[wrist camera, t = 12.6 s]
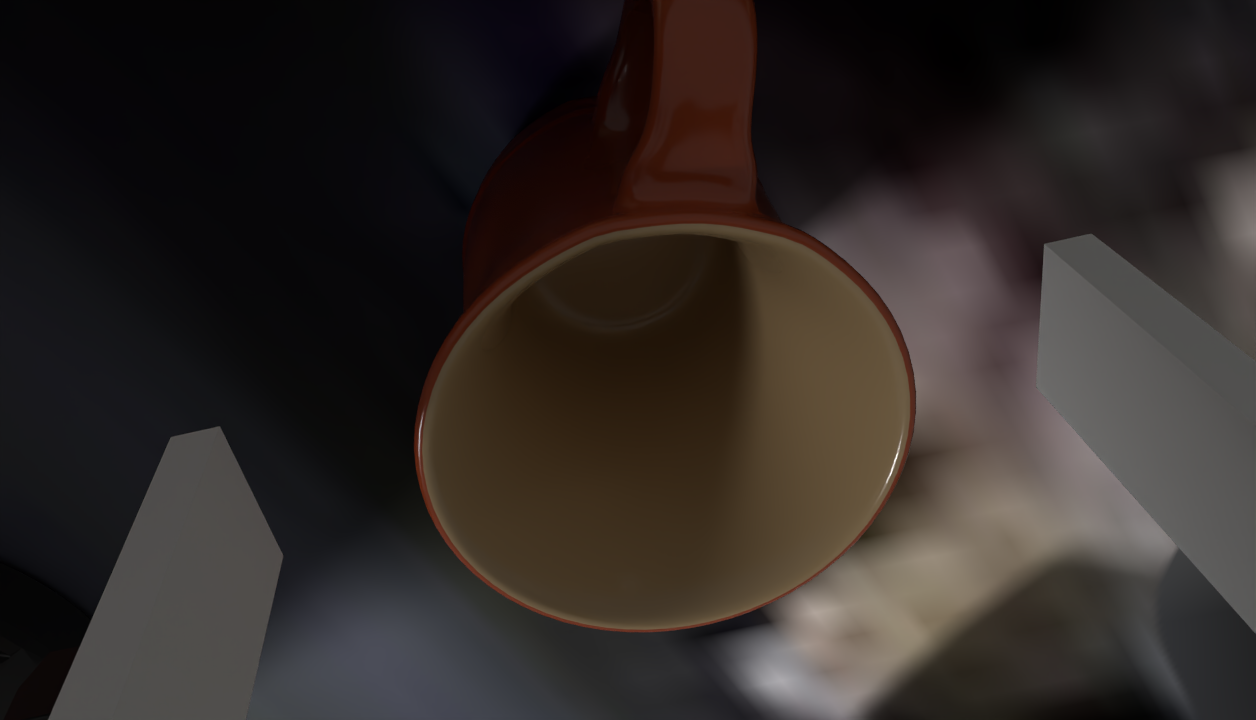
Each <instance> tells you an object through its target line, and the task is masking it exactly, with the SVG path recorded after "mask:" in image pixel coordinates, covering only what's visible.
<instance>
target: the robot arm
mask: <svg viewBox="0 0 1256 720" xmlns="http://www.w3.org/2000/svg"><path fill="white" fill-rule="evenodd" d="M1036 388H1037V389H1038V390H1039V391H1040V392H1041V393H1042V394H1043V395H1044V397H1045V398H1046V399H1047V400H1048V401H1049V402H1050V403H1051V404H1052V406H1053V407H1054V408H1055V409H1056V410H1057V411H1058V412H1059V413H1060V415H1061V416H1062V417H1063V418H1064V419H1065V420H1066V421H1067V422H1068V424H1069V425H1070V426H1071V427H1072V428H1073V429H1074V430H1075V431H1076V433H1077V434H1078V435H1079V436H1080V437H1081V438H1082V439H1083V440H1084V442H1085V443H1086V444H1087V445H1088V446H1089V447H1090V448H1091V449H1092V451H1093V452H1094V453H1095V454H1096V455H1097V456H1098V457H1099V458H1100V460H1101V461H1102V462H1103V463H1104V464H1105V465H1106V466H1107V467H1108V468H1109V470H1110V471H1111V472H1112V473H1113V474H1114V475H1115V476H1116V477H1117V479H1118V480H1119V481H1120V482H1121V483H1122V484H1123V485H1124V486H1125V488H1126V489H1127V490H1128V491H1129V492H1130V493H1131V494H1132V495H1133V497H1134V498H1135V499H1136V500H1137V501H1138V502H1139V503H1140V504H1141V506H1142V507H1143V508H1144V509H1145V510H1146V511H1147V512H1148V513H1149V515H1150V516H1151V517H1152V518H1153V519H1154V520H1155V521H1156V522H1157V524H1158V525H1159V526H1160V527H1161V528H1162V529H1163V530H1164V531H1165V533H1166V534H1167V535H1168V536H1169V537H1170V538H1171V539H1172V540H1173V542H1174V543H1175V544H1176V545H1177V546H1178V547H1179V548H1180V549H1181V551H1182V552H1183V553H1184V554H1185V555H1186V556H1187V557H1188V558H1189V560H1190V561H1191V562H1192V563H1193V564H1194V565H1195V566H1196V567H1197V568H1198V570H1199V571H1200V572H1201V573H1202V574H1203V575H1204V576H1205V577H1206V579H1207V580H1208V581H1209V582H1210V583H1211V584H1212V585H1213V586H1214V588H1215V589H1216V590H1217V591H1218V592H1219V593H1220V594H1221V595H1222V597H1223V598H1224V599H1225V600H1226V601H1227V602H1228V603H1229V604H1230V606H1231V607H1232V608H1233V609H1234V610H1235V611H1236V612H1237V613H1238V615H1239V616H1240V617H1241V618H1242V619H1243V620H1244V621H1245V622H1246V624H1247V625H1248V626H1249V627H1250V628H1251V629H1252V630H1253V631H1254V632H1255V634H1256V361H1255V360H1253V359H1252V358H1251V357H1250V356H1248V355H1247V354H1246V353H1244V352H1243V351H1242V350H1241V349H1239V348H1238V347H1237V346H1235V345H1234V344H1233V343H1232V342H1230V341H1229V340H1228V339H1226V338H1225V337H1224V336H1223V335H1221V334H1220V333H1219V332H1217V331H1216V330H1215V329H1214V328H1212V327H1211V326H1210V325H1208V324H1207V323H1206V322H1205V321H1203V320H1202V319H1201V318H1199V317H1198V316H1197V315H1196V314H1194V313H1193V312H1192V311H1190V310H1189V309H1188V308H1186V307H1185V306H1184V305H1183V304H1181V303H1180V302H1179V301H1177V300H1176V299H1175V298H1174V297H1172V296H1171V295H1170V294H1168V293H1167V292H1166V291H1165V290H1163V289H1162V288H1161V287H1159V286H1158V285H1157V284H1156V283H1154V282H1153V281H1152V280H1150V279H1149V278H1148V277H1147V276H1145V275H1144V274H1143V273H1141V272H1140V271H1139V270H1138V269H1136V268H1135V267H1134V266H1132V265H1131V264H1130V263H1129V262H1127V261H1126V260H1125V259H1123V258H1122V257H1121V256H1120V255H1118V254H1117V253H1116V252H1114V251H1113V250H1112V249H1111V248H1109V247H1108V246H1107V245H1105V244H1104V243H1103V242H1102V241H1100V240H1099V239H1098V238H1096V237H1095V236H1094V235H1093V234H1087V235H1083V236H1078V237H1074V238H1069V239H1065V240H1060V241H1056V242H1051V243H1047V244H1044V258H1043V275H1042V293H1041V310H1040V327H1039V345H1038V362H1037V379H1036ZM282 560H283V554H282V552H281V550H280V548H279V546H278V544H277V542H276V540H275V538H274V536H273V534H272V532H271V530H270V528H269V526H268V523H267V521H266V519H265V517H264V515H263V513H262V511H261V509H260V507H259V505H258V503H257V501H256V499H255V497H254V495H253V493H252V491H251V489H250V487H249V485H248V483H247V481H246V479H245V477H244V474H243V472H242V470H241V468H240V466H239V464H238V462H237V460H236V458H235V456H234V454H233V452H232V450H231V448H230V446H229V444H228V442H227V440H226V438H225V436H224V434H223V432H222V430H221V428H220V426H219V427H214V428H210V429H205V430H201V431H196V432H191V433H187V434H182V435H178V436H173V437H171V438H170V440H169V442H168V445H167V447H166V449H165V451H164V454H163V456H162V458H161V461H160V463H159V465H158V468H157V470H156V472H155V474H154V477H153V479H152V481H151V484H150V486H149V488H148V491H147V493H146V495H145V497H144V500H143V502H142V504H141V507H140V509H139V511H138V514H137V516H136V518H135V521H134V523H133V525H132V527H131V530H130V532H129V534H128V537H127V539H126V541H125V544H124V546H123V548H122V550H121V553H120V555H119V557H118V560H117V562H116V564H115V567H114V569H113V571H112V574H111V576H110V578H109V580H108V583H107V585H106V587H105V590H104V592H103V594H102V597H101V599H100V601H99V603H98V606H97V608H96V610H95V613H94V615H93V617H92V620H90V619H89V618H88V617H87V616H86V615H85V614H84V613H82V612H81V611H80V610H79V609H77V608H76V607H75V606H73V605H72V604H71V603H70V602H68V601H67V600H65V599H64V598H62V597H61V596H60V595H58V594H57V593H55V592H54V591H52V590H51V589H49V588H47V587H46V586H44V585H42V584H41V583H39V582H37V581H36V580H34V579H32V578H30V577H28V576H26V575H24V574H22V573H21V572H19V571H17V570H14V569H12V568H10V567H8V566H6V565H4V564H2V563H0V720H246V716H247V712H248V708H249V703H250V699H251V695H252V690H253V686H254V682H255V677H256V673H257V669H258V664H259V660H260V656H261V651H262V647H263V643H264V638H265V634H266V630H267V625H268V621H269V616H270V612H271V608H272V603H273V599H274V595H275V590H276V586H277V582H278V577H279V573H280V569H281V564H282Z"/></svg>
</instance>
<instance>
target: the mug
mask: <svg viewBox="0 0 1256 720" xmlns="http://www.w3.org/2000/svg"><path fill="white" fill-rule="evenodd" d="M756 69H757V21H756V11H755V6H754V0H625V2H624V6H623V11H622V16H621V21H620V26H619V31H618V36H617V40H616V44H615V47H614V49H613V52H612V55H611V58H610V60H609V63H608V65H607V68H606V70H605V73H604V75H603V78H602V81H601V84H600V87H599V91H598V95H597V96H592V97H584V98H579V99H575V100H571V101H568V102H566V103H564V104H561V105H560V106H558V107H556V108H554V109H552V110H550V111H549V112H547V113H545V114H544V115H542V116H541V117H539V118H538V119H536V120H535V121H533V122H532V123H531V124H529V125H528V126H527V127H526V128H524V129H523V130H522V131H521V132H520V133H519V134H518V135H517V136H515V137H514V138H513V139H512V140H511V141H510V143H509V144H508V145H507V146H506V147H505V149H504V150H503V151H502V152H501V154H500V155H499V156H498V157H497V159H496V160H495V162H494V163H493V164H492V166H491V167H490V169H489V170H488V172H487V174H486V176H485V178H484V179H483V181H482V183H481V185H480V188H479V190H478V193H477V195H476V197H475V199H474V202H473V204H472V207H471V209H470V212H469V215H468V219H467V222H466V226H465V232H464V238H463V250H462V259H463V273H464V281H463V304H464V312H463V313H462V315H461V316H460V318H459V319H458V320H457V322H456V323H455V325H454V326H453V328H452V329H451V330H450V332H449V333H448V335H447V336H446V338H445V340H444V341H443V343H442V345H441V347H440V348H439V350H438V352H437V354H436V356H435V357H434V360H433V362H432V364H431V367H430V369H429V372H428V374H427V376H426V379H425V382H424V385H423V389H422V392H421V396H420V399H419V403H418V408H417V414H416V420H415V430H414V454H415V467H416V472H417V476H418V481H419V486H420V490H421V493H422V496H423V499H424V502H425V505H426V508H427V510H428V512H429V514H430V516H431V518H432V520H433V523H434V525H435V527H436V528H437V530H438V531H439V533H440V535H441V536H442V538H443V539H444V541H445V542H446V544H447V545H448V546H449V548H450V549H451V550H452V551H453V553H454V554H455V555H456V556H457V558H458V559H459V560H460V561H461V562H462V563H463V564H464V565H465V566H466V567H467V568H468V569H469V570H470V571H471V572H472V573H473V574H475V575H476V576H477V577H478V578H479V579H481V580H482V581H483V582H484V583H485V584H487V585H488V586H489V587H491V588H492V589H494V590H495V591H497V592H498V593H500V594H501V595H503V596H504V597H506V598H508V599H510V600H512V601H514V602H515V603H517V604H519V605H521V606H523V607H525V608H527V609H530V610H532V611H534V612H537V613H539V614H541V615H544V616H547V617H550V618H553V619H556V620H559V621H562V622H566V623H570V624H574V625H578V626H582V627H588V628H594V629H600V630H608V631H619V632H660V631H672V630H680V629H688V628H693V627H698V626H703V625H708V624H712V623H716V622H720V621H723V620H727V619H731V618H734V617H737V616H739V615H742V614H745V613H748V612H751V611H753V610H756V609H758V608H760V607H763V606H765V605H767V604H770V603H772V602H774V601H776V600H778V599H780V598H782V597H783V596H785V595H787V594H789V593H791V592H793V591H794V590H796V589H798V588H799V587H801V586H803V585H804V584H806V583H807V582H809V581H810V580H812V579H813V578H815V577H816V576H817V575H819V574H820V573H822V572H823V571H824V570H826V569H827V568H828V567H829V566H831V565H832V564H833V563H834V562H835V561H836V560H838V559H839V558H840V557H841V556H842V555H843V554H844V553H845V552H846V551H847V550H848V549H849V548H850V547H851V546H852V545H853V544H854V543H855V542H857V540H858V539H859V538H860V537H861V536H862V535H863V533H864V532H865V531H866V530H867V529H868V528H869V526H870V525H871V524H872V523H873V521H874V520H875V518H876V517H877V516H878V514H879V513H880V511H881V510H882V509H883V507H884V505H885V504H886V502H887V500H888V499H889V497H890V495H891V493H892V492H893V490H894V488H895V486H896V484H897V482H898V479H899V477H900V475H901V473H902V471H903V468H904V465H905V462H906V459H907V456H908V453H909V450H910V446H911V441H912V437H913V433H914V424H915V416H916V389H915V380H914V372H913V368H912V364H911V360H910V356H909V352H908V349H907V346H906V343H905V341H904V338H903V335H902V333H901V330H900V328H899V327H898V325H897V323H896V321H895V319H894V317H893V315H892V313H891V312H890V310H889V309H888V307H887V306H886V304H885V303H884V302H883V300H882V299H881V297H880V296H879V294H878V293H877V292H876V291H875V290H874V289H873V288H872V287H871V285H870V284H869V283H868V282H867V281H866V280H865V279H864V278H863V277H862V276H861V275H860V274H859V273H858V272H857V271H856V270H855V269H854V268H853V267H852V266H850V265H849V264H848V263H847V262H846V261H845V260H844V259H843V258H841V257H840V256H839V255H838V254H836V253H835V252H834V251H833V250H831V249H830V248H829V247H827V246H826V245H824V244H823V243H821V242H820V241H819V240H817V239H816V238H814V237H812V236H811V235H809V234H807V233H805V232H804V231H802V230H799V229H797V228H794V227H792V226H789V225H787V224H784V223H782V221H781V220H780V218H779V216H778V214H777V212H776V211H775V209H774V207H773V205H772V204H771V202H770V200H769V199H768V197H767V195H766V193H765V191H764V189H763V186H762V184H761V182H760V180H759V179H758V177H757V165H756V160H755V155H754V151H753V146H752V138H751V122H752V109H753V100H754V91H755V80H756Z"/></svg>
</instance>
